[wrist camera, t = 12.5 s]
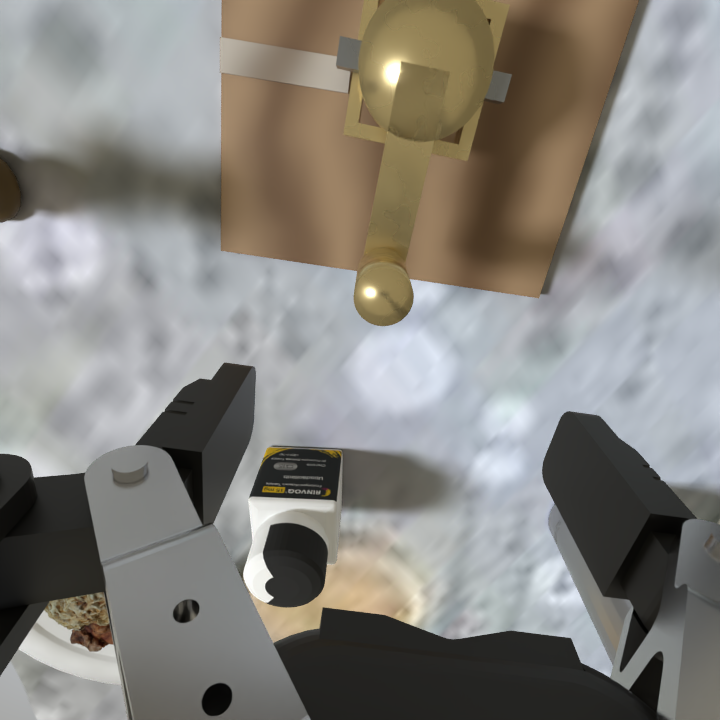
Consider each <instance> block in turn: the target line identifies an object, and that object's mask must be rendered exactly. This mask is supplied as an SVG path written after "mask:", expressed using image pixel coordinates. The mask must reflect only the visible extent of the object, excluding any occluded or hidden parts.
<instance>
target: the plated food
mask: <svg viewBox="0 0 720 720" xmlns="http://www.w3.org/2000/svg"><path fill="white" fill-rule="evenodd" d="M18 649H19V650H21V651H22V652H24V653H26V654H27V655H29V656H31V657H32V658H34V659H36V660H38V661H40V662H42V663H44V664H46V665H49V666H51V667H53V668H55V669H57V670H60V671H63V672H66V673H69V674H72V675H75V676H78V677H81V678H85V679H89V680H94V681H98V682H102V683H109V684H117V685H121V680H120V675H119V670H118V665H117V659H116V654H115V649H114V644H113V639H112V634H111V629H110V624H109V618H108V613H107V608H106V603H105V598H104V593H103V592H100V593H94V594H88V595H83V596H77V597H71V598H65V599H59V600H53V601H49V603H48V605H47V606H46V608H45V609H44V611H43V612H42V614H41V615H40V617H39V618H38V620H37V621H36V623H35V624H34V626H33V627H32V629H31V630H30V632H29V633H28V635H27V636H26V638H25V639H24V641H23V642H22V644H21V645H20V647H19V648H18Z"/></svg>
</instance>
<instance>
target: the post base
mask: <svg viewBox="0 0 720 720" xmlns="http://www.w3.org/2000/svg"><path fill="white" fill-rule="evenodd" d="M491 1H496V2H500V3H504V4H509V5H510V6H509V10H508V14H507V17H506V21H505V25H504V28H503V32H502V36H501V39H500V43H499V47H498V50H497V54H496V58H495V61H494V69H493V70H494V71H499V72H503V73H508V74H512V76H511V80H510V83H509V87H508V90H507V94H506V97H505V101H504V103H501V104H495V103H491V102H486V101H484V102H483V106H482V109H481V113H480V117H479V120H478V124H477V128H476V132H475V135H474V139H473V143H472V146H471V150H470V154H469V157H468V161H463V160H457V159H452V158H448V157H443V156H438V155H433V154H431V156H430V161H429V165H428V169H427V173H426V178H425V182H424V186H423V190H422V194H421V199H420V203H419V207H418V211H417V216H416V220H415V224H414V228H413V233H412V237H411V241H410V245H409V250H408V254H407V258H406V262H405V264H406V268H407V271H408V275H409V279H414V280H421V281H428V282H434V283H441V284H448V285H455V286H461V287H468V288H475V289H481V290H488V291H495V292H501V293H508V294H515V295H521V296H528V297H535V298H539V296H540V293H541V290H542V287H543V284H544V281H545V278H546V275H547V272H548V269H549V266H550V263H551V260H552V257H553V255H554V252H555V249H556V246H557V243H558V240H559V237H560V234H561V231H562V228H563V225H564V222H565V219H566V216H567V213H568V210H569V207H570V204H571V201H572V198H573V195H574V192H575V189H576V186H577V183H578V180H579V177H580V174H581V171H582V168H583V165H584V162H585V159H586V156H587V153H588V151H589V148H590V145H591V142H592V139H593V136H594V133H595V130H596V127H597V124H598V121H599V118H600V115H601V112H602V109H603V106H604V103H605V100H606V97H607V94H608V91H609V88H610V85H611V82H612V79H613V76H614V73H615V70H616V67H617V64H618V61H619V58H620V55H621V52H622V49H623V47H624V44H625V41H626V38H627V35H628V32H629V29H630V26H631V23H632V20H633V17H634V14H635V11H636V8H637V5H638V2H639V0H491ZM363 3H364V0H222V37H220V73H221V251H227V252H234V253H241V254H247V255H254V256H261V257H267V258H274V259H281V260H287V261H294V262H301V263H307V264H314V265H321V266H327V267H334V268H341V269H348V270H354V271H357V270H358V265H359V262H360V260H361V258H362V257H363V255H364V249H365V244H366V239H367V234H368V229H369V223H370V218H371V213H372V208H373V203H374V197H375V192H376V187H377V182H378V177H379V171H380V166H381V161H382V156H383V151H384V145H385V144H382V143H377V142H372V141H367V140H363V139H358V138H353V137H349V136H345V135H343V133H344V127H345V120H346V114H347V107H348V101H349V94H350V88H351V81H352V75H353V72H350V71H346V70H341V69H337V67H336V61H337V53H338V46H339V39H340V36H343V37H347V38H352V39H356V40H358V35H359V29H360V22H361V16H362V9H363ZM379 7H380V6H379ZM360 123H361V124H366V125H370V126H375V127H380V126H379V125H378V124H377V123H376V122H375V120H374V119H373V117H372V116H371V115H370V113H369V111H368V109H367V107H366V104H365V102H364V101H363V107H362V113H361V119H360ZM380 128H381V127H380ZM455 135H456V132H454V133H453V134H451V135H449V136H447V137H444V138H442V139H439V140H440V141H445V142H450V143H454V139H455Z"/></svg>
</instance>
